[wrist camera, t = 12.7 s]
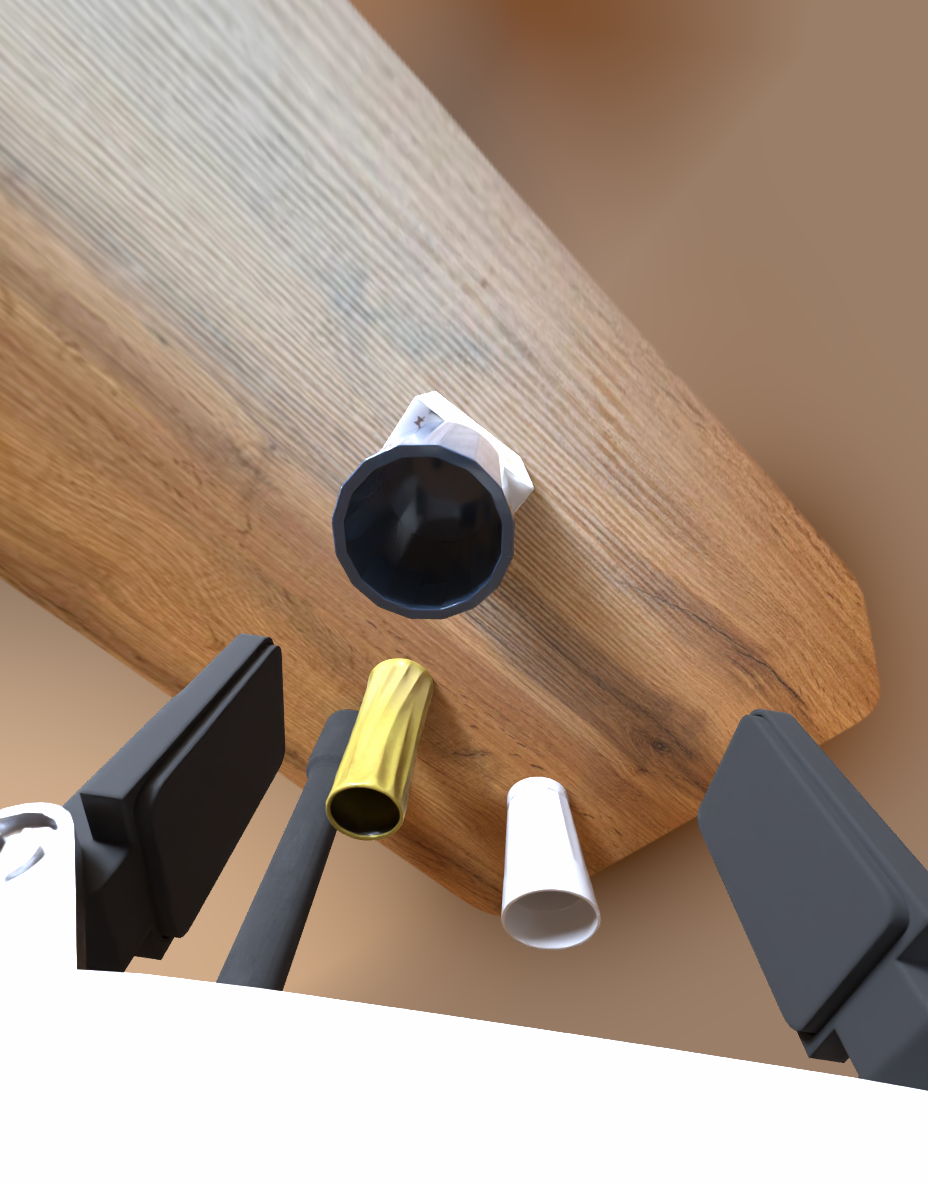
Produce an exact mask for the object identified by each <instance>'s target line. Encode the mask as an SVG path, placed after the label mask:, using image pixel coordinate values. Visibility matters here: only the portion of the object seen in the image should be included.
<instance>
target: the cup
mask: <svg viewBox="0 0 928 1184" xmlns="http://www.w3.org/2000/svg"><path fill="white" fill-rule="evenodd" d="M501 921H502V926H503V928H504V930H505V931H506V933H507V934H508V935H509V936H510V937H511V938H513V939H514V940H515V941H517V942H519V943H521V944H523V945H525V946H528V947H531V948H535V949H541V950H562V949H568V948H572V947H575V946H578V945H580V944H583V943H585V942H586V941H588V940H589V939H590V938H592V937H593V936H594V935H595V934H596V932H597V931H598V929H599V927H600V924H601V916H600V912H599V908H598V904H597V901H596V897H595V894H594V891H593V887H592V884H591V881H590V877H589V874H588V872H587V868H586V864H585V861H584V857H583V853H582V850H581V846H580V842H579V839H578V835H577V832H576V828H575V824H574V821H573V817H572V813H571V810H570V804H569V798H568V794H567V791H566V790H565V788H564V787H563V786H562V785H561V784H559V783H558V782H556V781H554V780H552V779H549V778H544V777H532V778H527V779H524V780H522V781H520V782H518V783H516V784H515V785H514V786H513V787H512V788H511V789H510V791H509V793H508V796H507V830H506V850H505V869H504V883H503V898H502V913H501Z"/></svg>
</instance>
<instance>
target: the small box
mask: <svg viewBox="0 0 928 1184" xmlns="http://www.w3.org/2000/svg"><path fill="white" fill-rule="evenodd" d="M440 421H446V422H455V423H459V424H462V425H465V426H468V427H470V428H472V429H474V430H476V431H477V432H479V433H480V434H481V435H483V436H484V437H485V438H486V439H487V440H488V441H489V442H490V443H491V444H492V445H493V447H494V448H495V449H496V451H497V452H498V453H499V456H500V458H501V460H502V463H503V466H504V469H505V472H506V474H507V478H508V484H509V490H510V497H511V503H512V509H513V515H514V513H515V512H516V511H517V510H518V508H519V507H520V506H521V505H522V504H523V502H524V501H525V500H526V499H527V497H528V496H529V495H530V494H531V493H532V491H533V490H534V486H533V484H532V482H531V480H530V477H529V475H528V473H527V470H526V468H525V466H524V464H523V461H522V459H521V457H520V456H518V455H517V454H515V453H514V452H513V451H512V450H510V449H509V448H508V447H506V446H505V445H504V444H503V443H501V442H500V441H499V440H497V439H496V438H495V437H494V436H492V435H491V434H490V433H488V432H487V431H486V430H485V429H483V428H482V427H481V426H479V425H478V424H477V423H476V422H474V421H473V420H472V419H470V418H469V417H468V416H467V415H465V414H464V413H463V412H461V411H460V410H459V409H458V408H456V407H455V406H454V405H453V404H451V403H450V402H449V401H447V400H446V399H445V398H444V397H442V396H441V395H440V394H439V393H438V392H436V391H433V392H430V393H427V394H423V395H420V396H417V397H415V398H414V400H413V401H412V403H411V404H410V406H409V408H408V409H407V411H406V412H405V414H404V416H403V417H402V419H401V420H400V422H399V423H398V425H397V427H396V428H395V430H394V431H393V433H392V435H391V436H390V438H389V439H388V441H387V443H386V444H385V446H386V445H388V444H389V443H391V442H392V441H394V440H395V439H397V438H398V437H400V436H401V435H403V434H404V433H406V432H408V431H410V430H413V429H415V428H417V427H419V426H421V425H424V424H426V423H429V422H440ZM385 446H384V447H385Z"/></svg>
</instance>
